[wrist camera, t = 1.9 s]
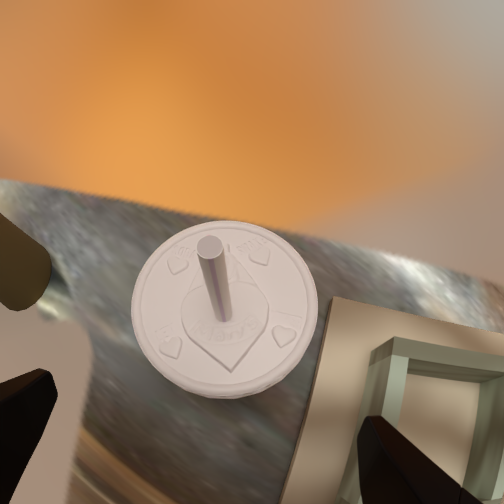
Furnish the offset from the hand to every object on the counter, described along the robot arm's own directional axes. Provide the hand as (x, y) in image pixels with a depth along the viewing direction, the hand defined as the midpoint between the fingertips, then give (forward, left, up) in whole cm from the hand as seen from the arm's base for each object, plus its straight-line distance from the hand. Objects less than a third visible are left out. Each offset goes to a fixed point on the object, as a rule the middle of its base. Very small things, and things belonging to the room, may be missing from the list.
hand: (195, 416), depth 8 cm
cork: (+4, +19, -11) cm, 22 cm away
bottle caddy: (+1, -12, -11) cm, 17 cm away
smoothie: (+4, +1, -11) cm, 12 cm away
